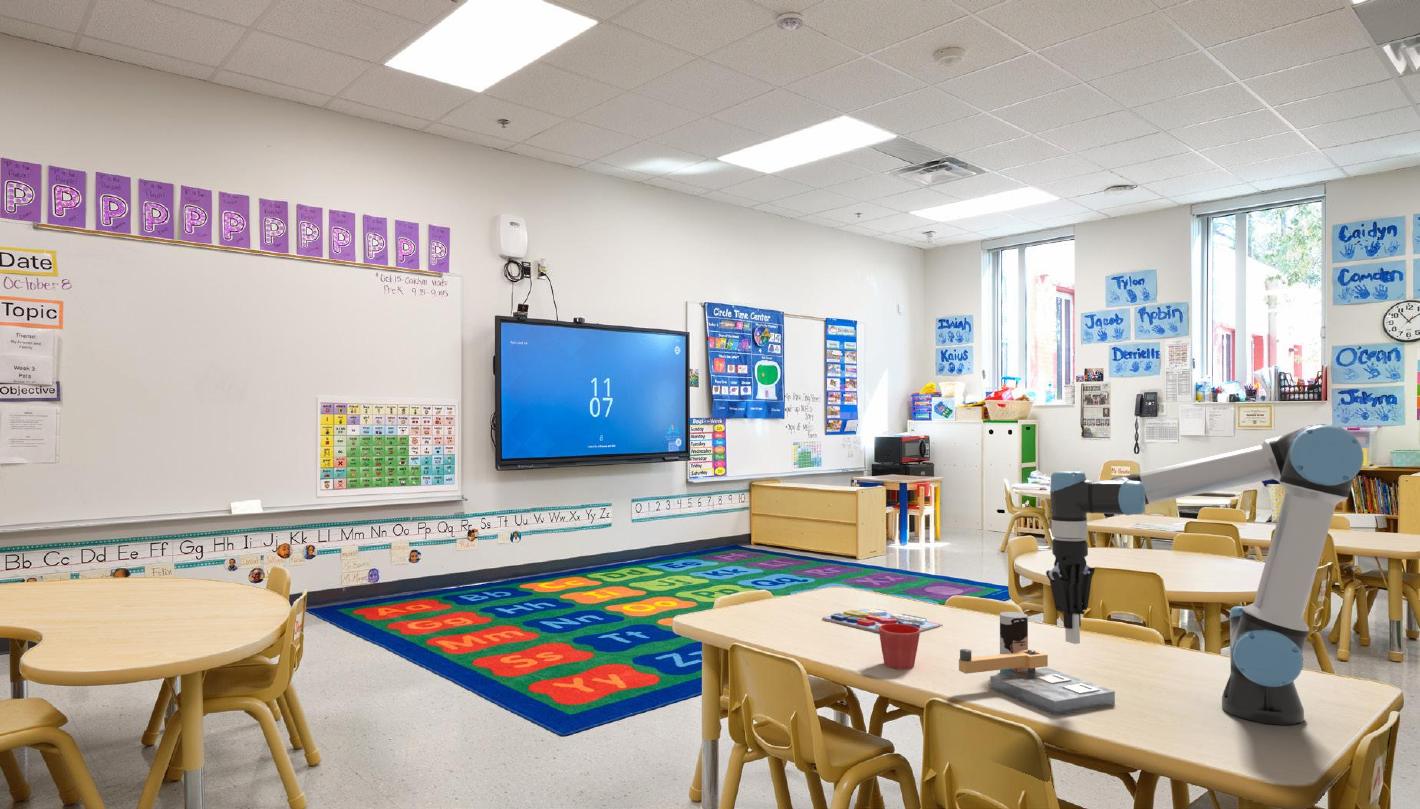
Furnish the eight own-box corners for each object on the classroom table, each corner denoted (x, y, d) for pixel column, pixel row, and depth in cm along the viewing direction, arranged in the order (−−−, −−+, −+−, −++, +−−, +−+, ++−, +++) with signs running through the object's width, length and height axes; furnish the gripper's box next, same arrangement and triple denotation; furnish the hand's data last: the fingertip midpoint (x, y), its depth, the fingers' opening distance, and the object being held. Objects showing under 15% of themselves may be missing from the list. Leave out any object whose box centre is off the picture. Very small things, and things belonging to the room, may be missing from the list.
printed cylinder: (1014, 679, 209) (1014, 618, 209) (994, 672, 215) (993, 613, 215) (1033, 675, 212) (1033, 615, 212) (1012, 668, 218) (1012, 610, 218)
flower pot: (928, 664, 221) (927, 627, 221) (906, 673, 213) (906, 635, 213) (892, 656, 228) (892, 621, 229) (870, 665, 220) (870, 628, 221)
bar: (1032, 660, 208) (1032, 640, 209) (1047, 666, 204) (1047, 645, 204) (954, 669, 201) (954, 648, 201) (967, 675, 196) (967, 653, 196)
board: (1114, 704, 190) (1114, 668, 190) (1055, 715, 183) (1054, 678, 183) (1046, 679, 208) (1046, 647, 209) (990, 688, 201) (990, 655, 201)
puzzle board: (943, 628, 264) (943, 619, 264) (899, 640, 249) (899, 631, 249) (866, 611, 287) (866, 603, 287) (821, 621, 272) (821, 613, 272)
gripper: (1077, 535, 199) (1080, 635, 198) (1035, 538, 193) (1038, 641, 192) (1103, 538, 192) (1107, 642, 191) (1061, 542, 186) (1064, 649, 186)
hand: (1072, 642), depth 192 cm, fingers closed
